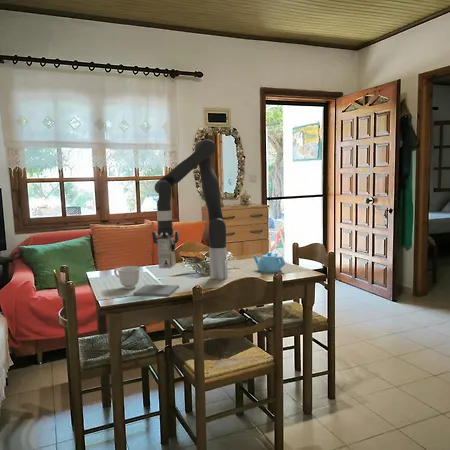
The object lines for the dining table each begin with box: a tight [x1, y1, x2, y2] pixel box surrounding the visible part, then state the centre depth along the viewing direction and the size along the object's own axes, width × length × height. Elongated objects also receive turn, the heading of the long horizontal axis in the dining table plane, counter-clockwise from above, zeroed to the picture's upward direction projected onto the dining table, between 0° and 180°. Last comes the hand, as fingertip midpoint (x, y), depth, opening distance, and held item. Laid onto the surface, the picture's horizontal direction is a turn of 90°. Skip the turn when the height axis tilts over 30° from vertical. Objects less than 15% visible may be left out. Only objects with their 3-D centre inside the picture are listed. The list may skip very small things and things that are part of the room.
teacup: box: [113, 265, 142, 290], centre depth 220 cm, size 12×15×10 cm
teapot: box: [253, 251, 286, 274], centre depth 251 cm, size 15×15×11 cm
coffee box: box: [157, 234, 177, 269], centre depth 223 cm, size 9×6×16 cm
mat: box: [132, 284, 180, 297], centre depth 212 cm, size 18×16×1 cm
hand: (166, 251), depth 223 cm, fingers closed on coffee box, 6 cm apart
